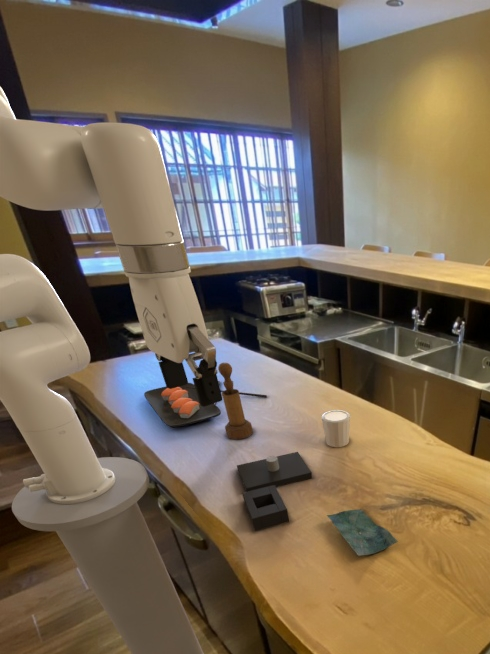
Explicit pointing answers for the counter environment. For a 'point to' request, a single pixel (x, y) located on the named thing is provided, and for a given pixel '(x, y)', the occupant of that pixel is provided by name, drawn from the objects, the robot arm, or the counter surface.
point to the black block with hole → (265, 507)
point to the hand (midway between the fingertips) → (194, 394)
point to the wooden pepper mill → (233, 407)
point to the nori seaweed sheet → (362, 532)
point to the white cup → (336, 427)
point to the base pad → (274, 471)
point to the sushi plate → (182, 405)
